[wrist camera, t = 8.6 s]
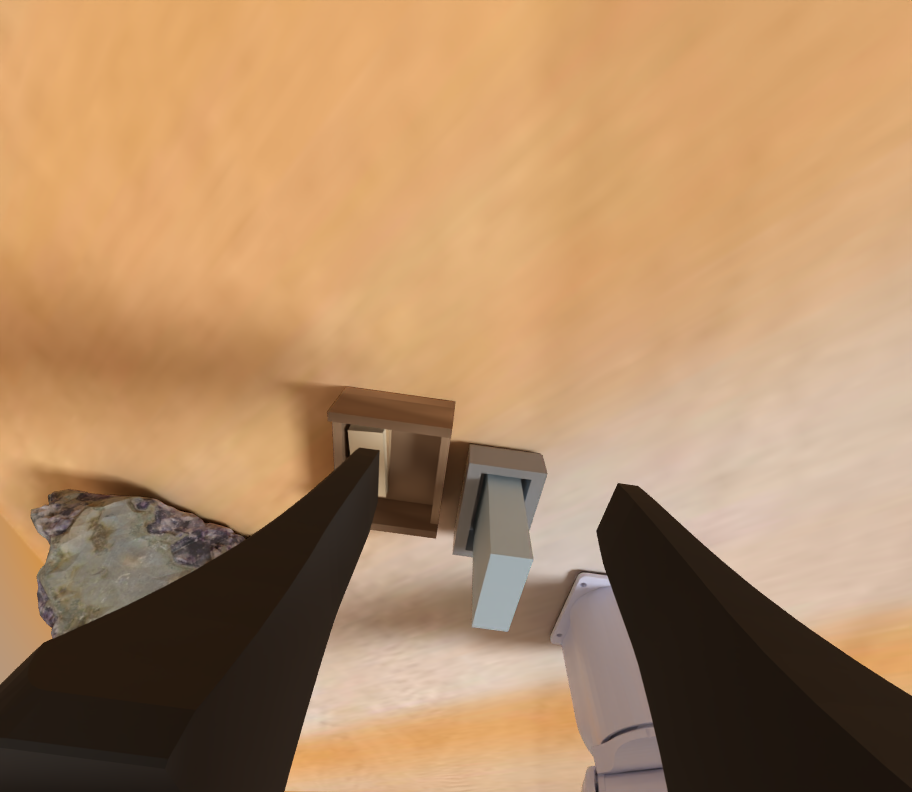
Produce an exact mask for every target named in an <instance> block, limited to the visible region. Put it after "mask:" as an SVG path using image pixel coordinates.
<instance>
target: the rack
mask: <svg viewBox="0 0 912 792" xmlns="http://www.w3.org/2000/svg"><path fill="white" fill-rule="evenodd" d="M454 409H455V402H454V401H447V400H440V399H433V398H425V397H418V396H411V395H404V394H397V393H390V392H383V391H376V390H369V389H361V388H354V387H347V386H346V387H345V389H344V390H343V391H342V393H341V394H340V395H339V397H338V398H337V399H336V401H335V402H334V403H333V405H332V406H331V407H330V409H329V410H328V411H327V413H328V421H330V422H332V427H333V450H334V470H335V469H336V468H337V467H338V466H340V465H341V464H342V463H343V462H344V461H345V460H346V459H347V458H348V457H349V456H350V448H349V438H348V429H349V427H350V426H351V425H359V426H366V427H373V428H380V429H387V430H392V432H391V451H390V471H389V490H388V493H387V496H386V498H385V497H378V503H377V506H376V510H375V514H374V518H373V521H372V525H371V528H370V530H377V531H384V532H392V533H399V534H406V535H414V536H421V537H428V538H436V535H437V527H438V520H439V513H440V507H441V500H442V493H443V486H444V480H445V473H446V466H447V459H448V453H449V446H450V439H451V433H452V426H453V418H454Z"/></svg>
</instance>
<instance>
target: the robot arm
mask: <svg viewBox="0 0 912 792" xmlns="http://www.w3.org/2000/svg"><path fill="white" fill-rule="evenodd" d="M379 456H380V450H375V449H367V448H360V447H359V448H358V449H356V450H355V451H354V452H353V453H352V454H351V455H350V456H349V457H348V458H347V459H346V460H345V461H344V462H343V463H342V464H341V465H340V466H338V467H337V468H336V469H335V470H334V471H333V472H332V473H331V474H330V475H329V476H328V477H326V478H325V479H324V480H323V481H322V482H321V483H319V484H318V485H317V486H316V487H315V488H314V489H313V490H311V491H310V492H309V493H308V494H307V495H305V496H304V497H303V498H302V499H300V500H299V501H298V502H297V503H295V504H294V505H293V506H291V507H290V508H289V509H288V510H286V511H285V512H284V513H283V514H281V515H280V516H279V517H277V518H276V519H274V520H273V521H272V522H270V523H269V524H267V525H266V526H265V527H263V528H262V529H260V530H259V531H257V532H256V533H254V534H253V535H251V536H250V537H248V538H247V539H245V540H244V541H242V542H241V543H239V544H238V545H236V546H234V547H233V548H231V549H230V550H228V551H226V552H225V553H223V554H221V555H220V556H218V557H216V558H215V559H213V560H211V561H210V562H208V563H206V564H204V565H203V566H201V567H199V568H198V569H196V570H194V571H192V572H190V573H189V574H187V575H185V576H183V577H181V578H179V579H177V580H175V581H174V582H172V583H170V584H168V585H166V586H164V587H162V588H160V589H158V590H156V591H154V592H152V593H150V594H148V595H146V596H144V597H142V598H140V599H138V600H136V601H134V602H132V603H130V604H128V605H126V606H124V607H122V608H120V609H118V610H115V611H113V612H111V613H109V614H107V615H104V616H102V617H100V618H98V619H96V620H93V621H91V622H89V623H87V624H85V625H82V626H80V627H78V628H76V629H74V630H71V631H69V632H67V633H65V634H63V635H60V636H58V637H56V638H53V639H51V640H49V641H47V642H44V643H43V644H42V645H41V646H40V647H39V648H38V649H36V650H35V651H34V652H33V653H32V654H31V655H30V656H29V657H28V658H27V659H26V660H25V661H24V662H23V663H22V664H21V665H20V666H19V667H18V668H17V669H16V670H15V671H14V672H13V673H12V674H11V675H10V676H9V677H8V678H7V679H6V680H5V681H4V682H2V683H1V685H0V792H284V791H285V787H286V783H287V780H288V776H289V772H290V769H291V765H292V761H293V758H294V754H295V751H296V747H297V744H298V740H299V737H300V733H301V730H302V726H303V723H304V719H305V716H306V712H307V709H308V705H309V702H310V698H311V695H312V692H313V688H314V685H315V682H316V678H317V675H318V671H319V668H320V665H321V661H322V658H323V655H324V652H325V648H326V645H327V642H328V639H329V635H330V632H331V629H332V626H333V623H334V620H335V617H336V614H337V612H338V609H339V606H340V604H341V601H342V599H343V596H344V594H345V591H346V589H347V586H348V584H349V582H350V579H351V577H352V574H353V572H354V569H355V567H356V564H357V562H358V559H359V557H360V554H361V552H362V549H363V547H364V544H365V542H366V539H367V537H368V534H369V532H370V528H371V525H372V521H373V518H374V514H375V510H376V506H377V503H378V486H379ZM596 532H597V537H598V542H599V547H600V552H601V556H602V560H603V564H604V567H605V570H606V573H607V575H600V574H593V573H580V574H579V575H578V576H577V579H576V581H575V583H574V585H573V587H572V590H571V592H570V594H569V596H568V598H567V601H566V603H565V605H564V607H563V609H562V612H561V614H560V616H559V618H558V620H557V623H556V625H555V627H554V629H553V631H552V634H551V636H550V641H551V643H553V644H556V645H562V650H563V655H564V660H565V666H566V671H567V676H568V681H569V687H570V692H571V697H572V702H573V708H574V713H575V718H576V723H577V726H578V730H579V732H580V735H581V737H582V739H583V741H584V743H585V745H586V747H587V748H588V750H589V751H590V753H591V754H592V756H593V757H594V761H595V766H590V767H588V768H587V770H586V774H585V778H584V781H583V784H582V790H581V792H912V696H911V695H909V694H908V693H906V692H904V691H903V690H901V689H900V688H898V687H896V686H895V685H893V684H892V683H890V682H888V681H887V680H885V679H884V678H882V677H881V676H879V675H877V674H876V673H874V672H873V671H871V670H870V669H868V668H867V667H865V666H863V665H862V664H860V663H859V662H857V661H856V660H854V659H853V658H851V657H850V656H848V655H847V654H845V653H844V652H843V651H841V650H840V649H838V648H837V647H835V646H834V645H832V644H831V643H829V642H828V641H826V640H825V639H823V638H822V637H820V636H819V635H818V634H816V633H815V632H813V631H812V630H810V629H809V628H808V627H806V626H805V625H803V624H802V623H801V622H799V621H798V620H796V619H795V618H794V617H792V616H791V615H790V614H788V613H787V612H786V611H784V610H783V609H782V608H780V607H779V606H778V605H776V604H775V603H774V602H772V601H771V600H770V599H768V598H767V597H766V596H765V595H763V594H762V593H761V592H759V591H758V590H757V589H756V588H754V587H753V586H752V585H751V584H749V583H748V582H747V581H746V580H744V579H743V578H742V577H741V576H740V575H738V574H737V573H736V572H735V571H734V570H732V569H731V568H730V567H729V566H728V565H726V564H725V563H724V562H723V561H722V560H720V559H719V558H718V557H717V556H716V555H715V554H714V553H712V552H711V551H710V550H709V549H708V548H707V547H706V546H704V545H703V544H702V543H701V542H700V541H699V540H698V539H697V538H695V537H694V536H693V535H692V534H691V533H690V532H689V531H688V530H687V529H686V528H684V527H683V526H682V525H681V524H680V523H679V522H678V521H677V520H676V519H675V518H674V517H672V516H671V515H670V514H669V513H668V512H667V511H666V510H665V509H664V508H663V507H662V506H660V505H659V504H658V503H657V502H656V501H655V500H654V499H653V498H652V497H650V496H649V495H648V494H647V493H646V492H645V491H644V490H642V489H641V488H640V487H639V486H634V485H627V484H620V483H618V484H617V486H616V489H615V491H614V493H613V495H612V497H611V500H610V502H609V504H608V506H607V508H606V511H605V513H604V515H603V517H602V520H601V522H600V524H599V526H598V528H597V531H596Z"/></svg>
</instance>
